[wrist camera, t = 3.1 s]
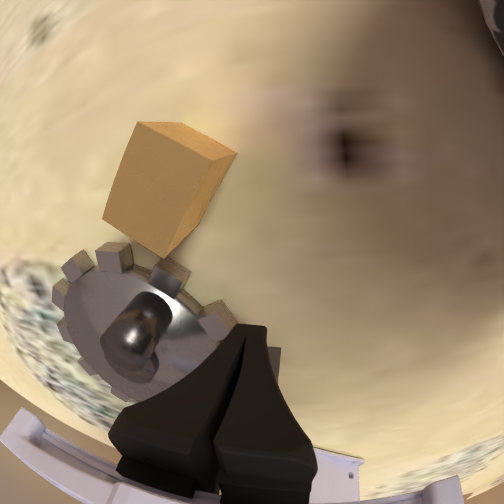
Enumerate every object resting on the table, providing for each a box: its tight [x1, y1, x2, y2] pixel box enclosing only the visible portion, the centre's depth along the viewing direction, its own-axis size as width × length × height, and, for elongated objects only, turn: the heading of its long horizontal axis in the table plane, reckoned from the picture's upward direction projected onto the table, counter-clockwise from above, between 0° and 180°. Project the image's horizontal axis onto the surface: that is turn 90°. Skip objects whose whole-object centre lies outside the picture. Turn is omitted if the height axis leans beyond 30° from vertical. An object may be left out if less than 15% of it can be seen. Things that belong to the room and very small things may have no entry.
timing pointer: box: [267, 347, 281, 383], centre depth 15 cm, size 1×2×2 cm, turn 1°
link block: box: [102, 122, 237, 259], centre depth 11 cm, size 4×3×4 cm
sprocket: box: [52, 242, 237, 402], centre depth 15 cm, size 14×14×5 cm
